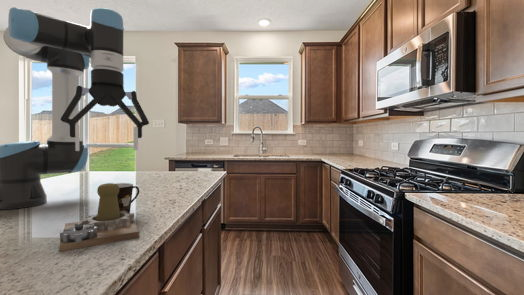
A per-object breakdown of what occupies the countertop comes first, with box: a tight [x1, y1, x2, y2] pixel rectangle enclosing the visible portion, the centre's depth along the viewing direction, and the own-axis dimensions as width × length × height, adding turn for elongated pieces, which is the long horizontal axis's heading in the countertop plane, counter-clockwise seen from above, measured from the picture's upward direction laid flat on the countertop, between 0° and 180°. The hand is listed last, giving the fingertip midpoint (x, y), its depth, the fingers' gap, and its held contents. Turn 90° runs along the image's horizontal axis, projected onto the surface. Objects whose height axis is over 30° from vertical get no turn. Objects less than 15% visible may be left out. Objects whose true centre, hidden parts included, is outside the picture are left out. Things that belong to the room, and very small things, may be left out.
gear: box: [59, 223, 97, 243], centre depth 63 cm, size 7×7×3 cm
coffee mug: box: [116, 182, 140, 214], centre depth 85 cm, size 12×9×10 cm
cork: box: [96, 182, 121, 221], centre depth 72 cm, size 6×6×11 cm
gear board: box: [58, 211, 140, 252], centre depth 70 cm, size 17×16×4 cm
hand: (108, 150), depth 72 cm, fingers open, 13 cm apart
